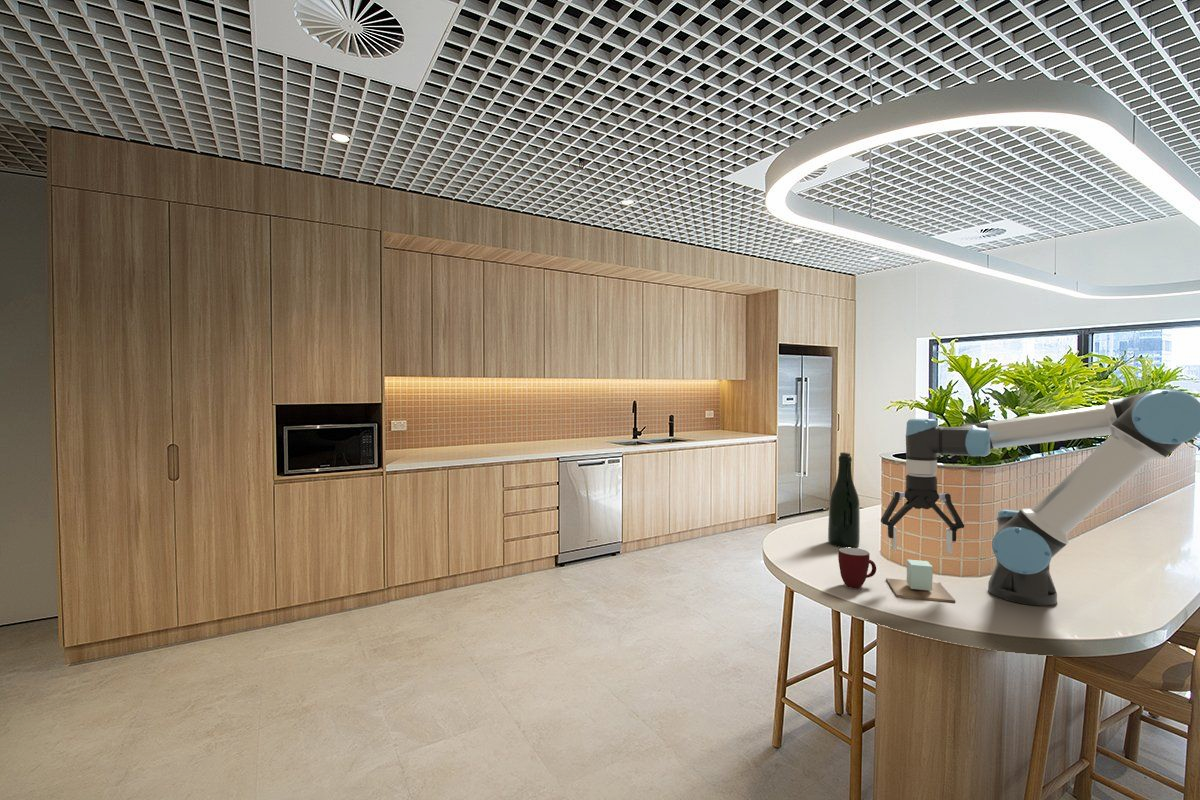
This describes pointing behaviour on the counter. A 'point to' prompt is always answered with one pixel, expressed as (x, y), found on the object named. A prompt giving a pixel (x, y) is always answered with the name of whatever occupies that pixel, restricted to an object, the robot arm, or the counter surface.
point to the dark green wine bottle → (844, 507)
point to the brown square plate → (919, 591)
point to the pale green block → (919, 574)
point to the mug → (855, 566)
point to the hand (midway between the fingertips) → (921, 551)
